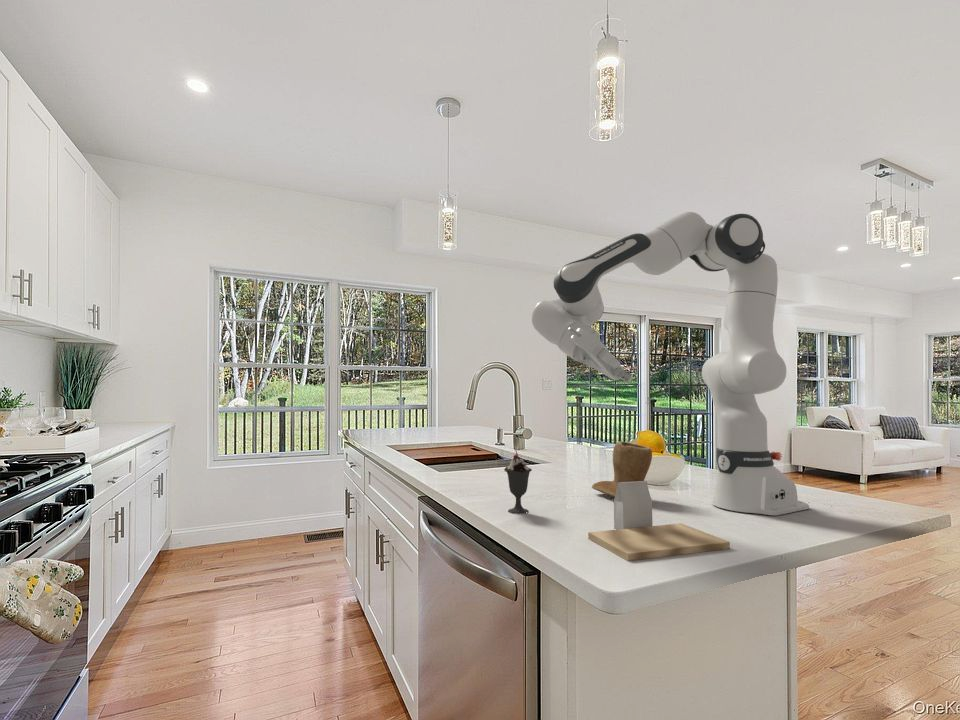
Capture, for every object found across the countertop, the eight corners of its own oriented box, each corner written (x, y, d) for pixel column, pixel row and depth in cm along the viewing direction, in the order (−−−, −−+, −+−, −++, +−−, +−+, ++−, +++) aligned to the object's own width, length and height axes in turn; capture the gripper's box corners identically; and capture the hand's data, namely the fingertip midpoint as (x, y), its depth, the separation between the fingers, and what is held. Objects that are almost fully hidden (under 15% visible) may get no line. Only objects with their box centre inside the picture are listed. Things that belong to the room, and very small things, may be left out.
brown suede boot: (662, 502, 134) (661, 443, 135) (624, 506, 130) (623, 445, 130) (626, 490, 148) (625, 438, 149) (590, 493, 144) (590, 439, 145)
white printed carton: (652, 531, 107) (651, 482, 108) (623, 533, 106) (622, 484, 106) (642, 526, 111) (641, 479, 111) (614, 529, 109) (613, 481, 110)
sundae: (513, 506, 129) (513, 446, 129) (537, 510, 125) (536, 448, 125) (498, 512, 123) (498, 448, 124) (523, 516, 119) (522, 450, 120)
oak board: (681, 529, 109) (680, 523, 109) (730, 548, 96) (729, 541, 96) (588, 538, 102) (588, 532, 102) (627, 560, 89) (627, 553, 90)
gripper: (574, 314, 118) (619, 344, 110) (602, 348, 134) (644, 377, 126) (556, 335, 119) (600, 367, 110) (587, 367, 135) (627, 397, 126)
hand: (624, 373), depth 118 cm, fingers open, 8 cm apart
